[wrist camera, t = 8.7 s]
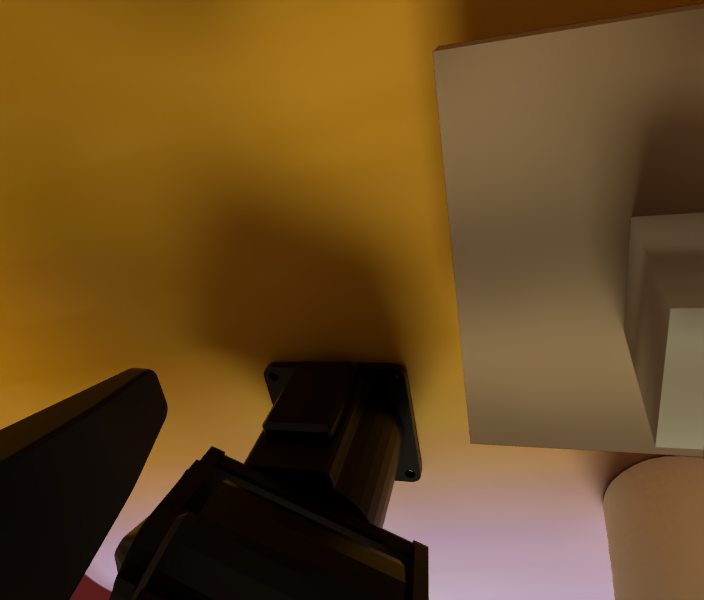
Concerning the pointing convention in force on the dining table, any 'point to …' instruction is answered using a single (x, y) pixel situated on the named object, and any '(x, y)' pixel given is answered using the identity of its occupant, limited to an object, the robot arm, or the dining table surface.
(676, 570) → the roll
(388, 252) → the dining table surface
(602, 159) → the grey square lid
